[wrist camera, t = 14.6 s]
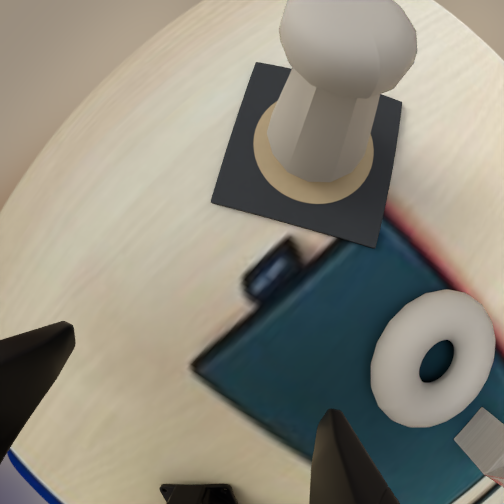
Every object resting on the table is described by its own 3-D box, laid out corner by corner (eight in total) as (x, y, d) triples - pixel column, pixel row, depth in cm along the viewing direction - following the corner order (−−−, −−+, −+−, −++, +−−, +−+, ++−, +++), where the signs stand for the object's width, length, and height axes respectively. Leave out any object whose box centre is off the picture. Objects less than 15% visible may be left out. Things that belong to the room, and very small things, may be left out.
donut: (496, 333, 18) (424, 257, 19) (521, 343, 15) (449, 259, 15) (420, 431, 19) (335, 374, 19) (437, 453, 16) (345, 396, 16)
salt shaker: (254, 166, 19) (211, 39, 7) (290, 95, 19) (294, -58, 6) (337, 205, 19) (429, 130, 6) (369, 131, 19) (456, 7, 6)
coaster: (373, 248, 19) (375, 248, 19) (211, 203, 20) (209, 201, 20) (400, 104, 19) (402, 101, 19) (256, 64, 20) (255, 61, 19)
